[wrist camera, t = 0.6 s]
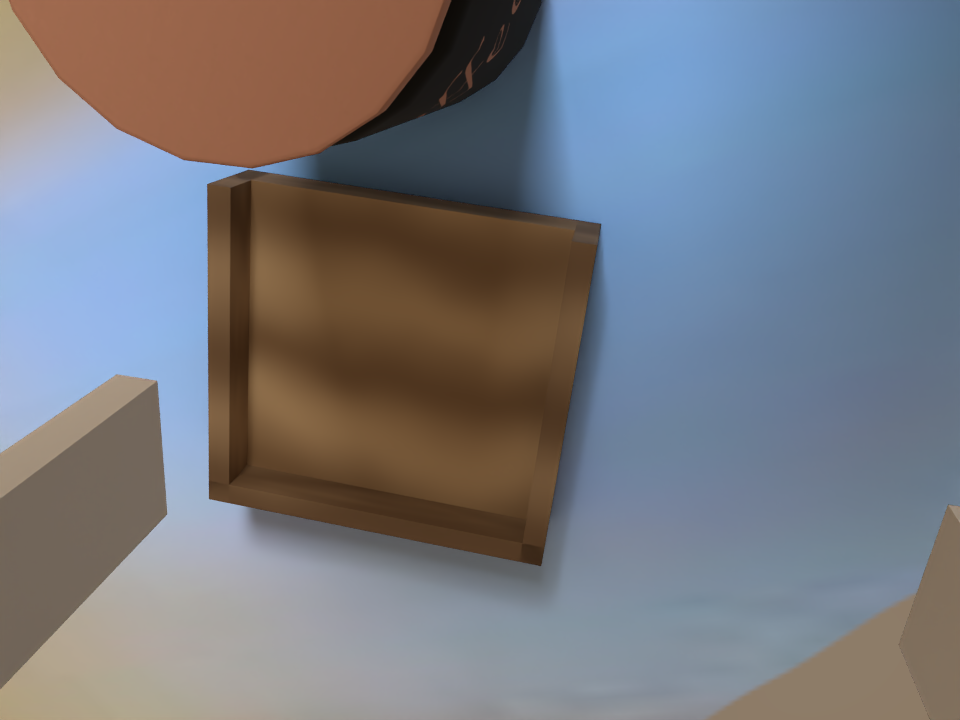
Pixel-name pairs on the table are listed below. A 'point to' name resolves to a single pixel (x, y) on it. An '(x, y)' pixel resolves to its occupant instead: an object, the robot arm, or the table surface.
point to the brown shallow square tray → (392, 359)
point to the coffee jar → (272, 67)
